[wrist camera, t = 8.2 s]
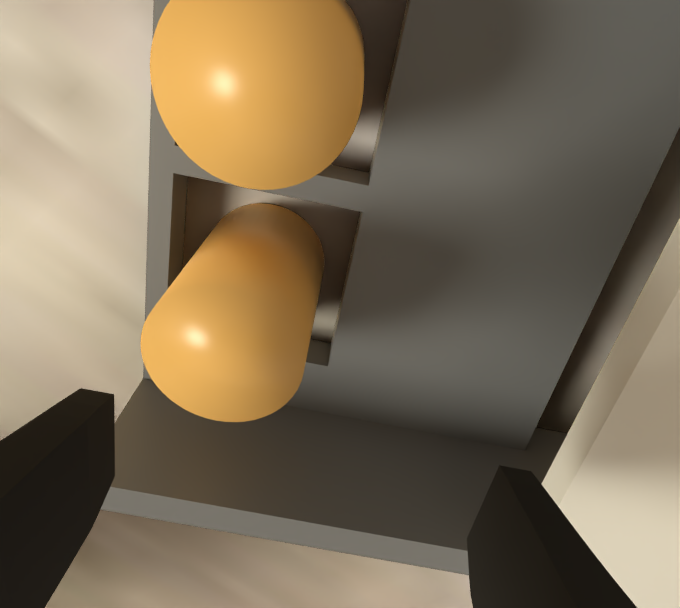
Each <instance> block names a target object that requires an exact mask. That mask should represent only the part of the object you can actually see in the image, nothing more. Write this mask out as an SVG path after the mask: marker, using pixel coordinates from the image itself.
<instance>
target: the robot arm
mask: <svg viewBox="0 0 680 608" xmlns="http://www.w3.org/2000/svg"><path fill="white" fill-rule="evenodd" d="M114 477H115V427H114V394H109V393H103V392H98V391H92V390H87V389H79V390H77V391H76V392H74V393H73V394H71V395H70V396H68V397H66V398H65V399H63V400H62V401H60V402H59V403H57V404H56V405H54V406H53V407H51V408H50V409H48V410H47V411H45V412H43V413H42V414H40V415H39V416H37V417H36V418H34V419H33V420H31V421H30V422H28V423H27V424H25V425H24V426H22V427H21V428H19V429H18V430H16V431H15V432H13V433H12V434H10V435H9V436H7V437H6V438H4V439H2V440H1V441H0V608H45V606H46V604H47V603H48V601H49V599H50V598H51V596H52V594H53V593H54V591H55V589H56V588H57V586H58V584H59V583H60V581H61V579H62V578H63V576H64V574H65V573H66V571H67V569H68V568H69V566H70V564H71V563H72V561H73V559H74V558H75V556H76V554H77V552H78V551H79V549H80V547H81V546H82V544H83V542H84V541H85V539H86V537H87V535H88V534H89V532H90V530H91V529H92V526H93V524H94V522H95V520H96V518H97V516H98V513H99V511H100V509H101V507H102V505H103V502H104V500H105V498H106V496H107V493H108V491H109V489H110V486H111V484H112V482H113V480H114ZM467 550H468V567H469V579H470V591H471V598H472V604H473V608H637V607H636V606H635V604H634V603H633V602H632V601H631V600H630V598H629V597H628V596H627V595H626V593H625V592H624V591H623V590H622V589H621V587H620V586H619V585H618V584H617V582H616V581H615V580H614V579H613V577H612V576H611V575H610V574H609V572H608V571H607V570H606V569H605V567H604V566H603V565H602V563H601V562H600V561H599V560H598V558H597V557H596V556H595V554H594V553H593V552H592V551H591V549H590V548H589V547H588V545H587V544H586V543H585V541H584V540H583V539H582V537H581V536H580V535H579V533H578V532H577V531H576V530H575V528H574V527H573V526H572V524H571V523H570V522H569V520H568V519H567V518H566V516H565V515H564V514H563V512H562V511H561V510H560V508H559V507H558V506H557V504H556V503H555V502H554V500H553V499H552V498H551V496H550V495H549V494H548V492H547V491H546V490H545V488H544V487H543V486H542V484H541V483H540V482H539V480H538V479H537V478H536V477H535V475H534V474H533V473H532V472H531V471H528V470H522V469H517V468H512V467H506V466H501V465H499V467H498V469H497V472H496V474H495V476H494V478H493V481H492V483H491V485H490V487H489V490H488V492H487V494H486V496H485V499H484V501H483V503H482V505H481V508H480V510H479V512H478V514H477V517H476V519H475V521H474V523H473V526H472V528H471V530H470V532H469V535H468V537H467Z"/></svg>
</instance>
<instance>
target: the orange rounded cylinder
mask: <svg viewBox="0 0 680 608" xmlns="http://www.w3.org/2000/svg"><path fill="white" fill-rule="evenodd" d="M364 60H365V56H364V42H363V36H362V33H361V29H360V26H359V24H358V21H357V19H356V17H355V15H354V13H353V11H352V9H351V8H350V7H349V5H348V4H347V2H346V1H345V0H170V1H169V3H168V4H167V6H166V7H165V9H164V11H163V13H162V15H161V17H160V19H159V21H158V24H157V27H156V30H155V33H154V36H153V42H152V47H151V57H150V74H151V84H152V89H153V94H154V98H155V102H156V105H157V108H158V111H159V113H160V115H161V118H162V120H163V122H164V124H165V126H166V128H167V129H168V131H169V133H170V135H171V136H172V138H173V139H174V140H175V142H176V143H177V144H178V146H179V147H180V148H181V149H182V150H183V152H184V153H185V154H186V155H187V156H188V157H189V158H190V159H191V160H192V161H194V162H195V163H196V164H197V165H198V166H200V167H201V168H202V169H204V170H205V171H207V172H208V173H210V174H211V175H213V176H215V177H217V178H219V179H221V180H223V181H225V182H228V183H231V184H233V185H236V186H240V187H244V188H249V189H258V190H274V189H281V188H287V187H290V186H294V185H297V184H300V183H302V182H304V181H307V180H309V179H311V178H312V177H314V176H316V175H317V174H319V173H320V172H322V171H323V170H324V169H325V168H327V167H328V166H329V165H330V164H331V163H332V162H333V161H334V160H335V159H336V158H337V157H338V156H339V155H340V153H341V152H342V150H343V149H344V148H345V146H346V145H347V143H348V141H349V140H350V138H351V136H352V134H353V132H354V129H355V127H356V124H357V121H358V119H359V115H360V110H361V106H362V99H363V90H364Z"/></svg>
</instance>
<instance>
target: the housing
mask: <svg viewBox="0 0 680 608" xmlns="http://www.w3.org/2000/svg"><path fill="white" fill-rule="evenodd" d="M169 1H170V0H154V10H153V36H154V33H155V30H156V27H157V24H158V21H159V19H160V17H161V15H162V13H163V11H164V9H165V7H166V6H167V4H168V3H169ZM679 128H680V0H407V5H406V9H405V14H404V18H403V23H402V27H401V32H400V36H399V41H398V45H397V50H396V54H395V59H394V63H393V68H392V72H391V77H390V81H389V86H388V90H387V95H386V99H385V103H384V108H383V112H382V117H381V121H380V126H379V130H378V135H377V139H376V144H375V148H374V153H373V157H372V162H371V166H370V171H369V173H368V172H363V171H359V170H354V169H349V168H344V167H340V166H335V165H329V166H328V167H327V168H325V169H324V170H323V171H322V172H320V173H319V174H317V175H316V176H314V177H312V178H311V179H309V180H307V181H304V182H302V183H300V184H297V185H294V186H290V187H287V188H281V189H274V190H258V189H253V190H258V191H263V192H268V193H272V194H277V195H282V196H287V197H292V198H297V199H301V200H306V201H311V202H316V203H321V204H326V205H330V206H335V207H340V208H345V209H350V210H355V211H359V212H360V216H359V220H358V225H357V229H356V234H355V238H354V242H353V247H352V251H351V256H350V260H349V265H348V269H347V274H346V278H345V283H344V287H343V292H342V296H341V301H340V305H339V310H338V314H337V319H336V323H335V328H334V332H333V337H332V341H331V343H327V342H322V341H317V340H312V339H310V343H309V348H308V353H307V358H306V364H305V369H304V374H303V377H302V381H301V383H300V385H299V387H298V390H297V391H296V393H295V394H294V396H293V397H292V398H291V399H290V400H289V401H288V402H287V403H286V404H285V405H284V406H283V407H281V408H280V409H279V410H277V411H275V412H274V413H272V414H270V415H267V416H265V417H262V418H259V419H256V420H251V421H245V422H223V421H216V420H211V419H207V418H204V417H201V416H198V415H195V414H193V413H191V412H189V411H187V410H185V409H183V408H182V407H180V406H178V405H177V404H176V403H174V402H173V401H171V400H170V399H169V398H168V397H167V396H166V395H165V394H164V393H162V391H161V390H160V389H159V388H158V387H157V386H156V384H155V383H154V382H153V380H152V379H151V377H150V375H149V373H148V371H147V369H146V367H145V364H144V372H143V380H142V381H141V383H140V384H139V386H138V388H137V389H136V391H135V392H134V394H133V395H132V397H131V399H130V400H129V402H128V403H127V405H126V406H125V408H124V410H123V411H122V413H121V414H120V416H119V417H118V419H117V421H116V422H115V424H114V427H115V477H114V480H113V482H112V484H111V486H110V489H109V491H108V493H107V496H106V498H105V500H104V502H103V505H102V507H101V509H100V510H105V511H111V512H117V513H122V514H128V515H133V516H139V517H145V518H150V519H156V520H162V521H167V522H173V523H178V524H184V525H190V526H195V527H201V528H206V529H212V530H218V531H223V532H229V533H235V534H240V535H246V536H251V537H257V538H263V539H268V540H274V541H280V542H285V543H291V544H296V545H302V546H308V547H313V548H319V549H325V550H330V551H336V552H341V553H347V554H353V555H358V556H364V557H370V558H375V559H381V560H386V561H392V562H398V563H403V564H409V565H415V566H420V567H426V568H431V569H437V570H443V571H448V572H454V573H460V574H465V575H469V567H468V550H467V537H468V535H469V532H470V530H471V528H472V526H473V523H474V521H475V519H476V517H477V514H478V512H479V510H480V508H481V505H482V503H483V501H484V499H485V496H486V494H487V492H488V490H489V487H490V485H491V483H492V481H493V478H494V476H495V474H496V472H497V469H498V467H499V465H501V466H506V467H512V468H517V469H522V470H528V471H531V472H532V473H533V474H534V475H535V477H536V478H537V479H538V480H539V482H540V483H541V484H542V482H543V480H544V478H545V476H546V474H547V472H548V470H549V469H550V467H551V465H552V463H553V461H554V459H555V457H556V455H557V453H558V451H559V449H560V447H561V445H562V444H563V442H564V440H565V438H566V436H567V434H568V433H562V432H557V431H552V430H547V429H541V428H536V426H537V424H538V422H539V420H540V417H541V415H542V413H543V411H544V409H545V407H546V405H547V403H548V401H549V399H550V397H551V395H552V392H553V390H554V388H555V386H556V384H557V382H558V380H559V378H560V376H561V374H562V372H563V370H564V367H565V365H566V363H567V361H568V359H569V357H570V355H571V353H572V351H573V349H574V347H575V344H576V342H577V340H578V338H579V336H580V334H581V332H582V330H583V328H584V326H585V324H586V322H587V319H588V317H589V315H590V313H591V311H592V309H593V307H594V305H595V303H596V301H597V299H598V297H599V294H600V292H601V290H602V288H603V286H604V284H605V282H606V280H607V278H608V276H609V274H610V271H611V269H612V267H613V265H614V263H615V261H616V259H617V257H618V255H619V253H620V251H621V249H622V246H623V244H624V242H625V240H626V238H627V236H628V234H629V232H630V230H631V228H632V226H633V224H634V221H635V219H636V217H637V215H638V213H639V211H640V209H641V207H642V205H643V203H644V201H645V199H646V196H647V194H648V192H649V190H650V188H651V186H652V184H653V182H654V180H655V178H656V176H657V173H658V171H659V169H660V167H661V165H662V163H663V161H664V159H665V157H666V155H667V153H668V151H669V148H670V146H671V144H672V142H673V140H674V138H675V136H676V134H677V132H678V130H679ZM188 176H190V177H195V178H200V179H205V180H210V181H214V182H219V183H224V184H229V185H233V184H231V183H228V182H225V181H223V180H221V179H219V178H217V177H215V176H213V175H211V174H210V173H208V172H207V171H205V170H204V169H202V168H201V167H200V166H198V165H197V164H196V163H195V162H194V161H192V160H191V159H190V158H189V157H188V156H187V155H186V154H185V153H184V152H183V150H182V149H181V148H180V147H179V146H178V144H177V143H176V142H175V140H174V139H173V138H172V136H171V135H170V133H169V131H168V129H167V128H166V126H165V124H164V122H163V120H162V118H161V115H160V113H159V111H158V108H157V105H156V102H155V98H154V94H153V89H152V84H151V119H150V155H149V191H148V227H147V264H146V300H145V321H146V319H147V317H148V315H149V314H150V312H151V311H152V309H153V308H154V306H155V305H156V304H157V303H158V301H159V300H160V299H161V297H162V296H163V295H164V293H165V292H166V291H167V289H168V288H169V287H170V285H171V284H172V283H173V281H174V280H175V279H176V278H177V276H178V275H179V274H180V272H181V271H182V263H183V247H184V231H185V215H186V199H187V183H188ZM234 186H236V185H234ZM239 187H240V186H239ZM243 188H244V187H243ZM248 189H249V188H248Z"/></svg>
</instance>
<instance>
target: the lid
mask: <svg viewBox="0 0 680 608" xmlns="http://www.w3.org/2000/svg"><path fill="white" fill-rule="evenodd" d="M542 486H543V487H544V488H545V490H546V491H547V492H548V494H549V495H550V496H551V498H552V499H553V500H554V502H555V503H556V504H557V506H558V507H559V508H560V510H561V511H562V512H563V514H564V515H565V516H566V518H567V519H568V520H569V522H570V523H571V524H572V526H573V527H574V528H575V530H576V531H577V532H578V533H579V535H580V536H581V537H582V539H583V540H584V541H585V543H586V544H587V545H588V547H589V548H590V549H591V551H592V552H593V553H594V554H595V556H596V557H597V558H598V560H599V561H600V562H601V563H602V565H603V566H604V567H605V569H606V570H607V571H608V572H609V574H610V575H611V576H612V577H613V579H614V580H615V581H616V582H617V584H618V585H619V586H620V587H621V589H622V590H623V591H624V592H625V593H626V595H627V596H628V597H629V598H630V600H631V601H632V602H633V603H634V604H635V606H636V607H637V608H680V218H679V220H678V222H677V224H676V226H675V228H674V230H673V232H672V234H671V236H670V238H669V240H668V242H667V244H666V245H665V247H664V249H663V251H662V253H661V255H660V257H659V259H658V261H657V263H656V265H655V267H654V269H653V270H652V272H651V274H650V276H649V278H648V280H647V282H646V284H645V286H644V288H643V290H642V292H641V294H640V295H639V297H638V299H637V301H636V303H635V305H634V307H633V309H632V311H631V313H630V315H629V317H628V319H627V320H626V322H625V324H624V326H623V328H622V330H621V332H620V334H619V336H618V338H617V340H616V342H615V344H614V345H613V347H612V349H611V351H610V353H609V355H608V357H607V359H606V361H605V363H604V365H603V367H602V369H601V370H600V372H599V374H598V376H597V378H596V380H595V382H594V384H593V386H592V388H591V390H590V392H589V394H588V395H587V397H586V399H585V401H584V403H583V405H582V407H581V409H580V411H579V413H578V415H577V417H576V419H575V420H574V422H573V424H572V426H571V428H570V430H569V432H568V434H567V436H566V438H565V440H564V442H563V444H562V445H561V447H560V449H559V451H558V453H557V455H556V457H555V459H554V461H553V463H552V465H551V467H550V469H549V470H548V472H547V474H546V476H545V478H544V480H543V482H542Z"/></svg>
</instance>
